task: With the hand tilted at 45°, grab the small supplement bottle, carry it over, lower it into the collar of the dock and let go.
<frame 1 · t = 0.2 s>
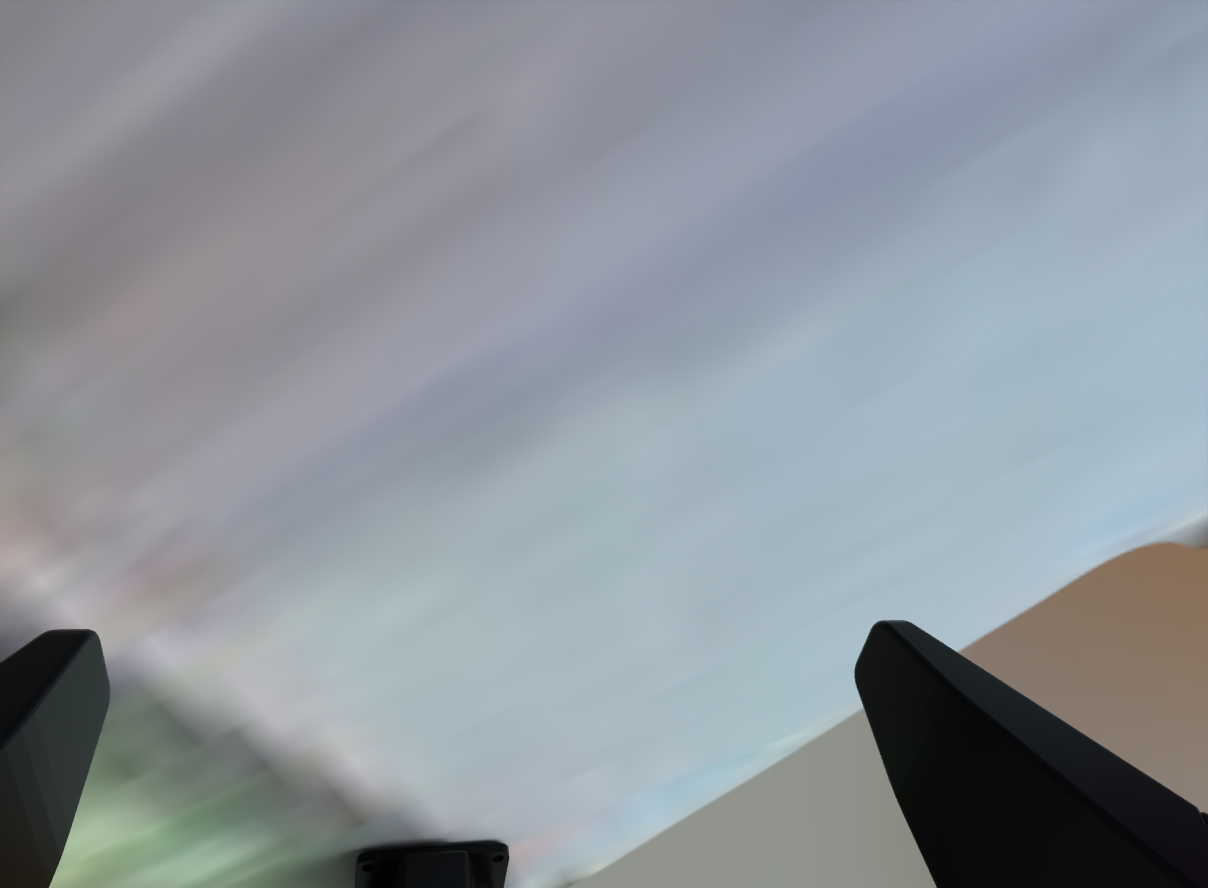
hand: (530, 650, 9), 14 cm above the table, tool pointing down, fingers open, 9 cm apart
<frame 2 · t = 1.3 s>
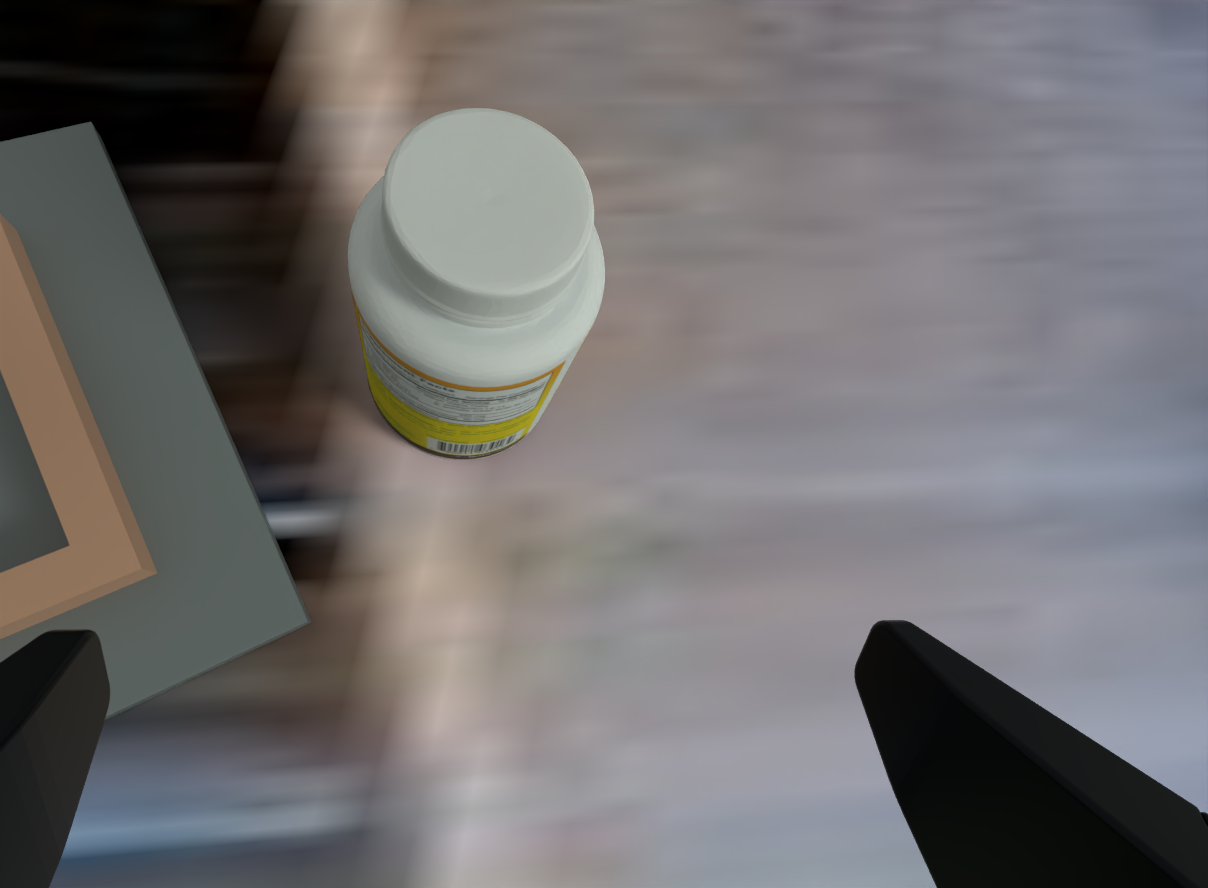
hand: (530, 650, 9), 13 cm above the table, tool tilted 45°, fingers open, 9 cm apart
supplement bottle: (459, 382, 23), on the table
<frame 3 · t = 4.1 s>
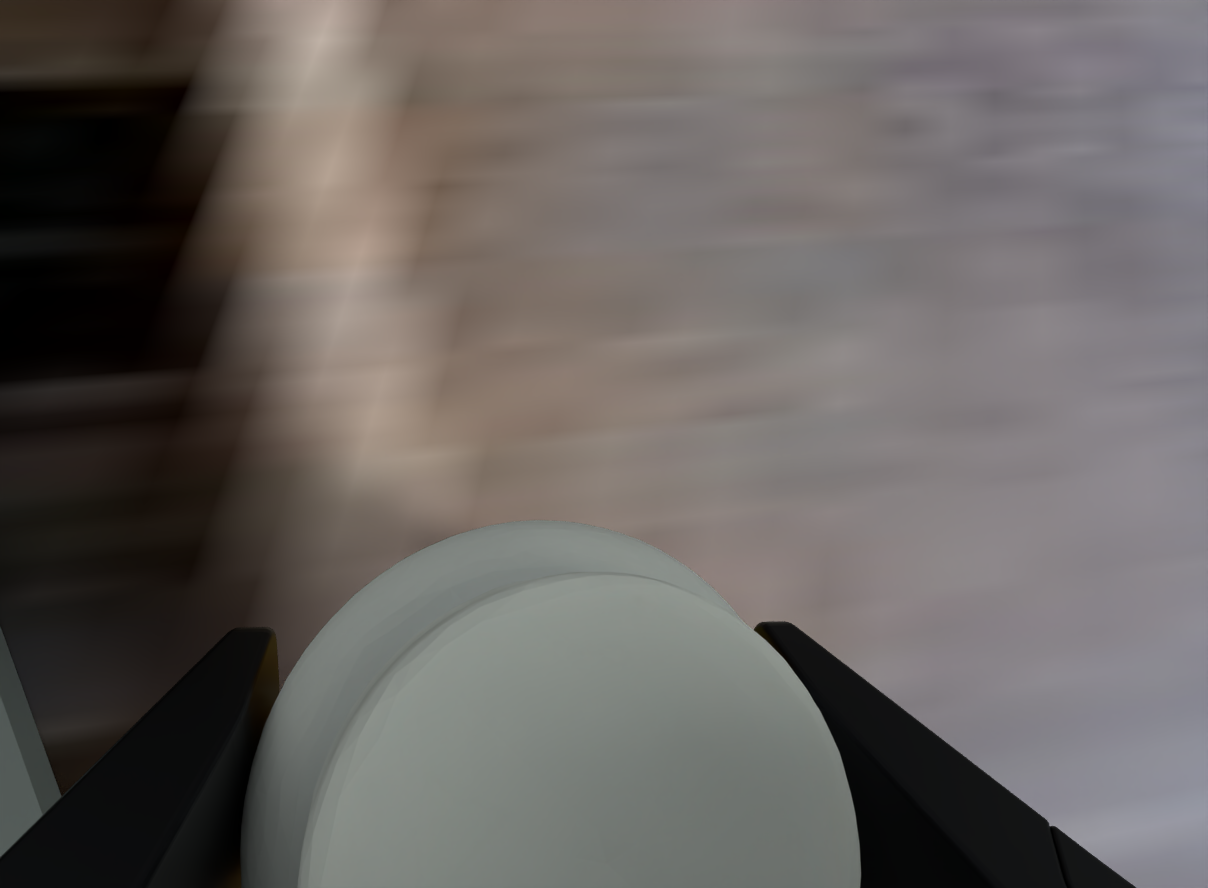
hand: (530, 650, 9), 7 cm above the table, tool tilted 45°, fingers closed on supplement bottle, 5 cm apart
supplement bottle: (478, 724, 15), on the table, touching gripper
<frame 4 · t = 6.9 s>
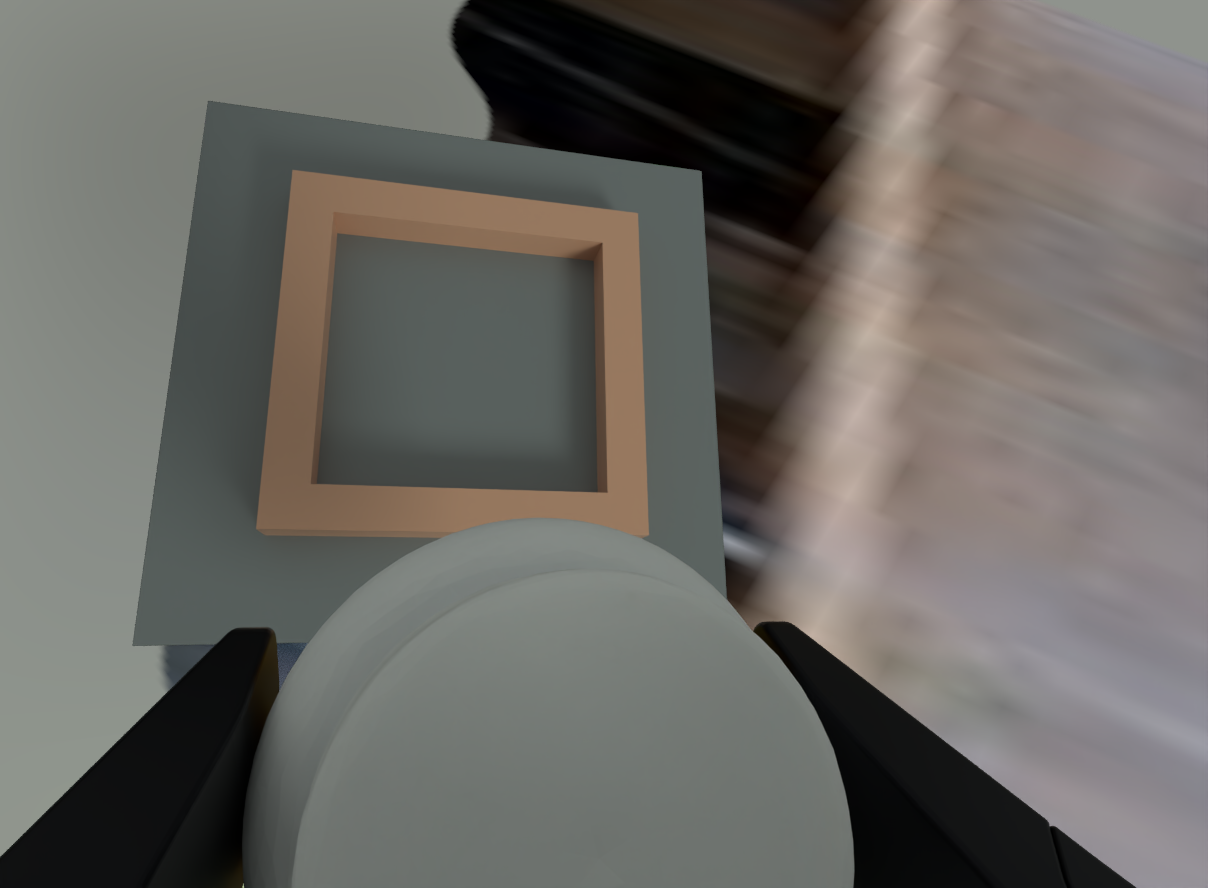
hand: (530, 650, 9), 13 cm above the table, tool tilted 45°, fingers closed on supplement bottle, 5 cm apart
supplement bottle: (484, 720, 15), point 6 cm above the table, touching gripper
dock: (465, 375, 23), on the table
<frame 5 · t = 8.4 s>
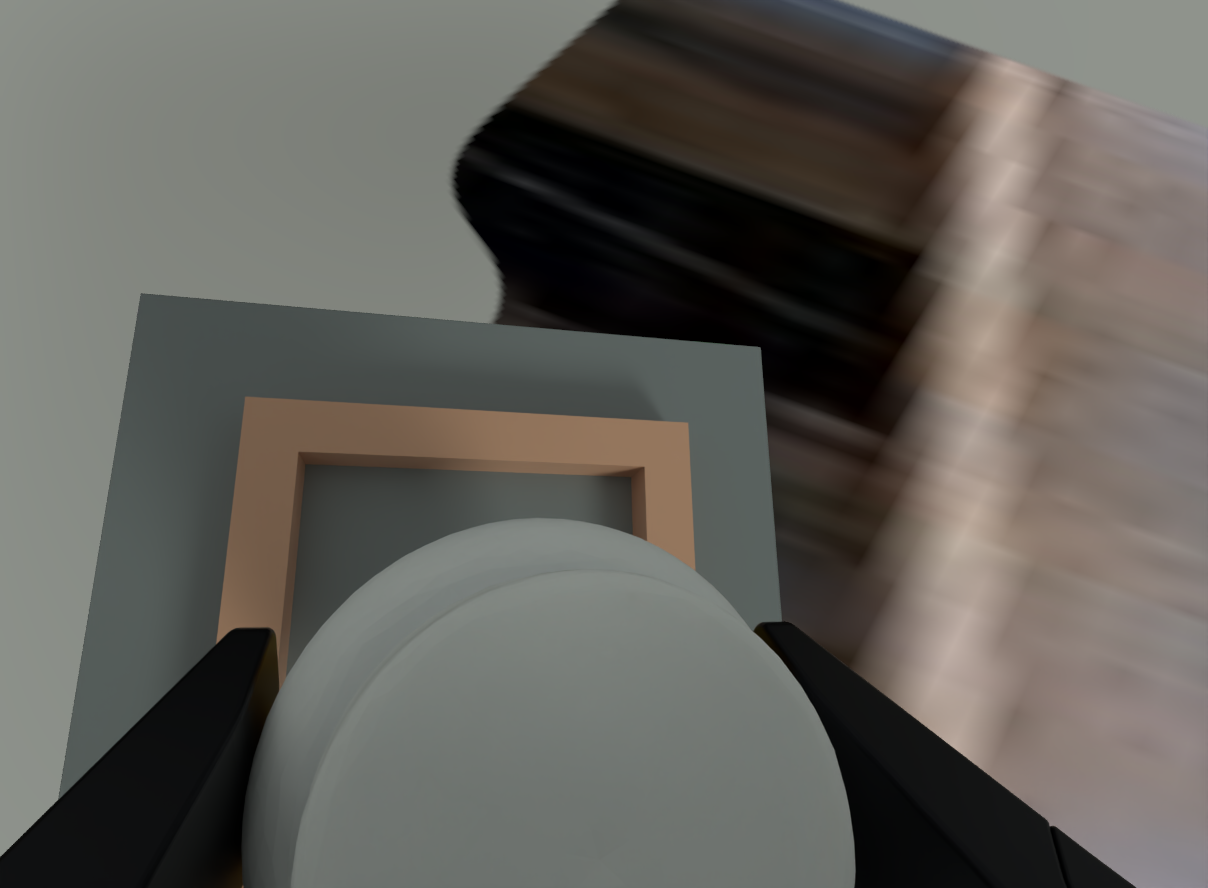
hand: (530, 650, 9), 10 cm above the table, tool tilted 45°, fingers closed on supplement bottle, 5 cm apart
supplement bottle: (484, 721, 15), point 3 cm above the table, touching gripper
dock: (469, 637, 18), on the table
when the fingers open (9 cm above the table, at t = 9.6 s): supplement bottle drops 2 cm, resting on dock.
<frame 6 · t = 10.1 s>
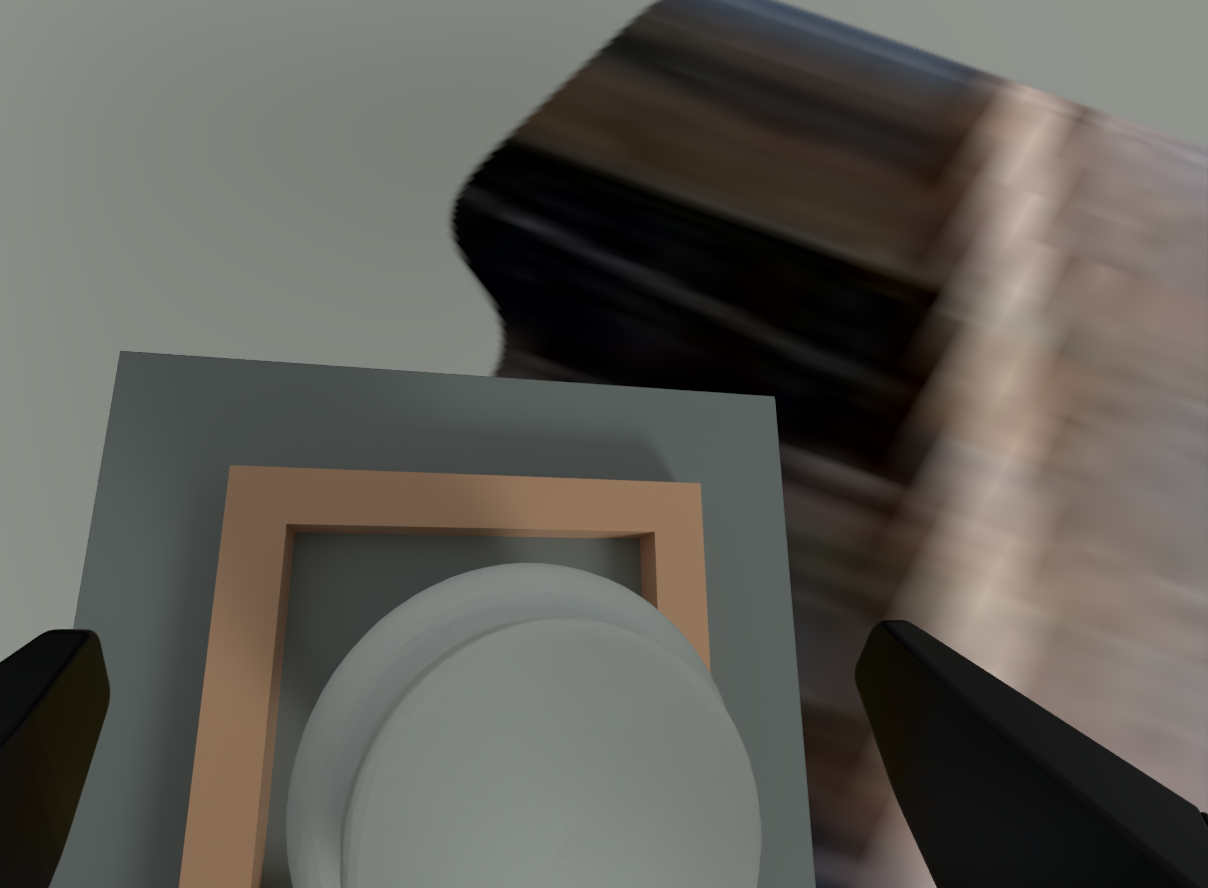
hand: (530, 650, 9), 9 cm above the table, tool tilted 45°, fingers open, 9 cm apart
supplement bottle: (475, 724, 16), point 1 cm above the table, touching dock
dock: (469, 713, 17), on the table
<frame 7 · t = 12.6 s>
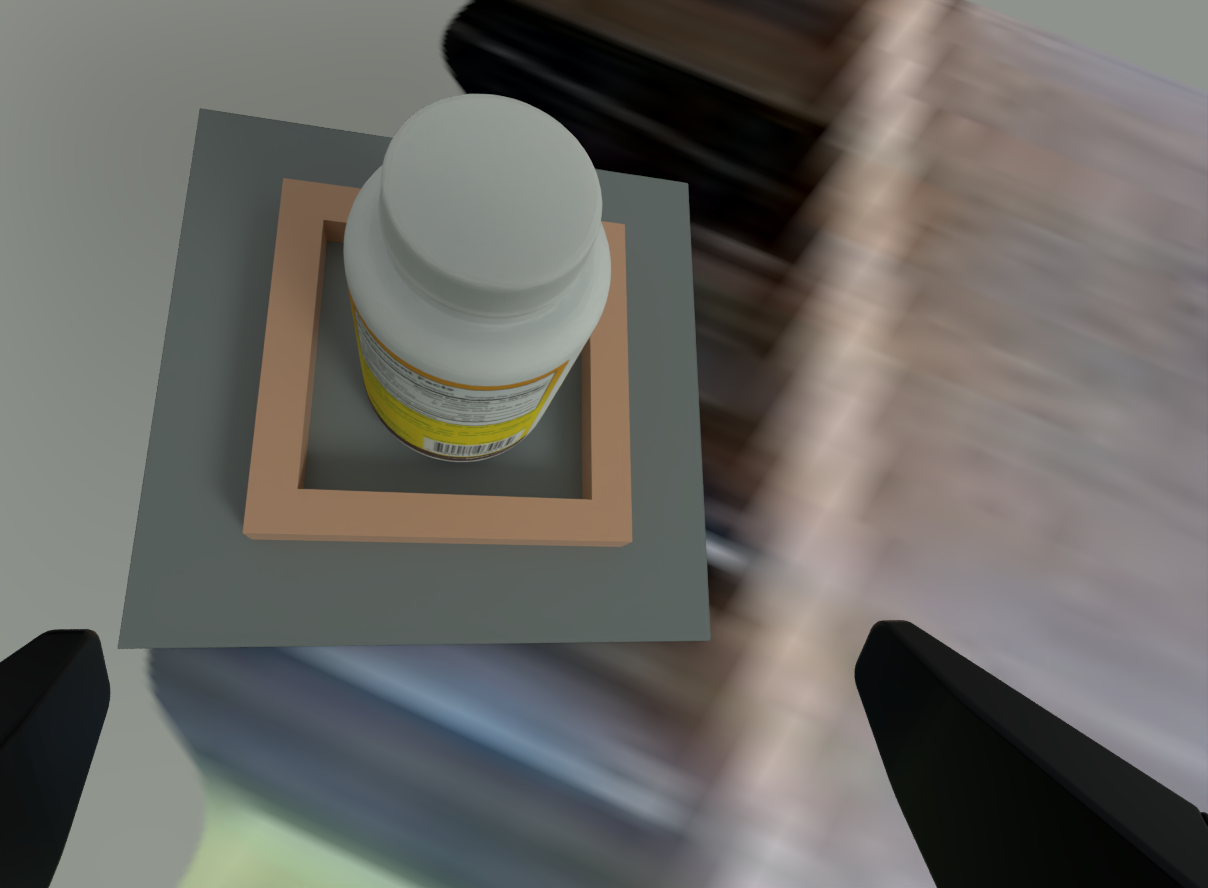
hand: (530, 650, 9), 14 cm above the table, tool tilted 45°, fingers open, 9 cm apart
supplement bottle: (457, 381, 23), point 1 cm above the table, touching dock
dock: (452, 382, 23), on the table
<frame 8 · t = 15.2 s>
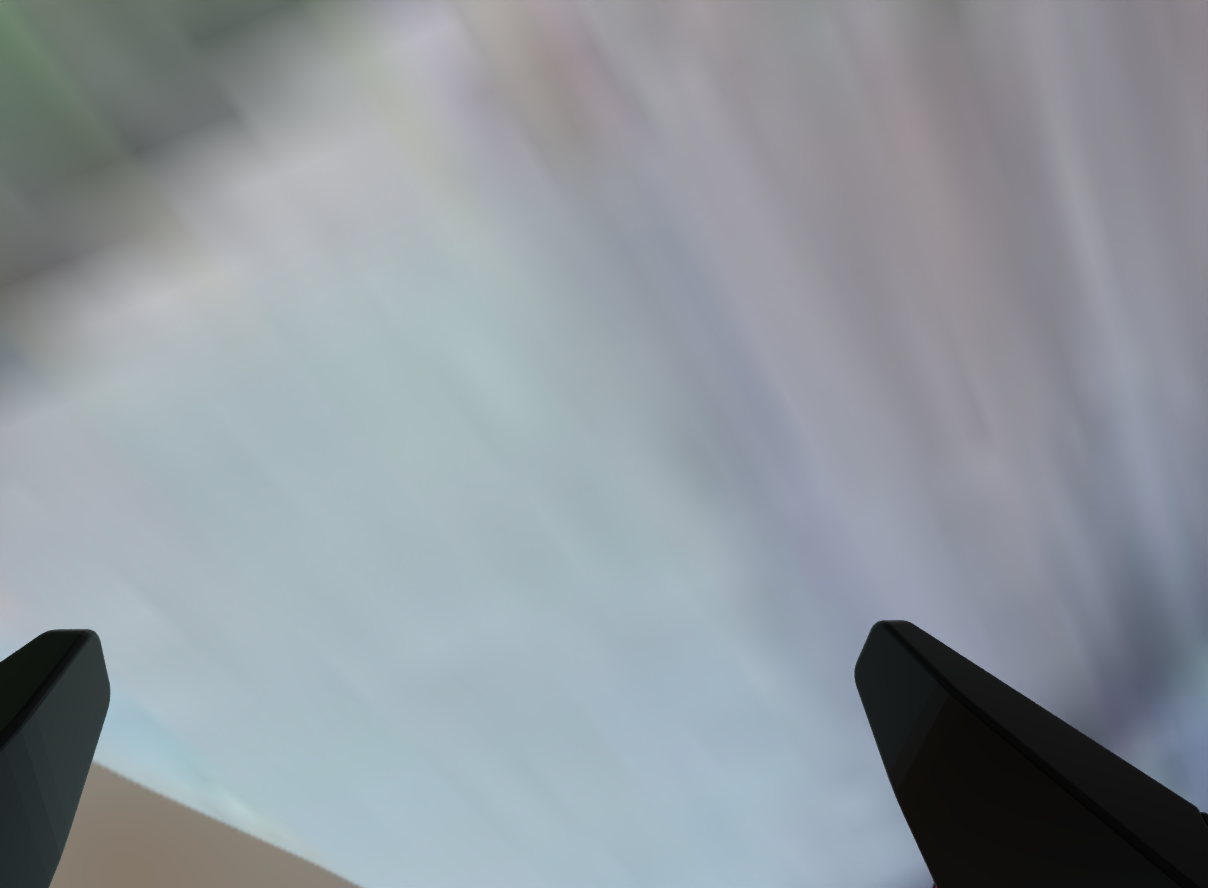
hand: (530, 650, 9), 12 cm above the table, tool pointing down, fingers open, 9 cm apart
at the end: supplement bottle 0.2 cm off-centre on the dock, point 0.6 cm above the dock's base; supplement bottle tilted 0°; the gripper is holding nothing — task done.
